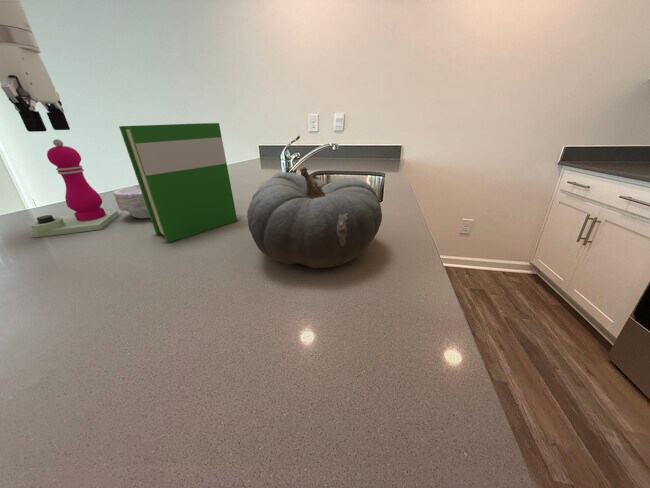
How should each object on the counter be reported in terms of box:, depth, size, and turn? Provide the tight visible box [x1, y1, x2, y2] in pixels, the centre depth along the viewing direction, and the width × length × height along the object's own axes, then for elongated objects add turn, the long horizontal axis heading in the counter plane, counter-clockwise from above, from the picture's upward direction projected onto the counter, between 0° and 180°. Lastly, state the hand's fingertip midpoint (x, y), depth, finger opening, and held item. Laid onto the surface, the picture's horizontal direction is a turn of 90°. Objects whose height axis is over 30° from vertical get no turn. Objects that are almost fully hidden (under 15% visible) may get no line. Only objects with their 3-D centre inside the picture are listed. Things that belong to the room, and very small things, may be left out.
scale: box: [30, 209, 120, 238], centre depth 69 cm, size 14×12×3 cm
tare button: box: [36, 214, 55, 224], centre depth 64 cm, size 3×3×2 cm
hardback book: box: [118, 122, 238, 244], centre depth 61 cm, size 18×7×24 cm, turn 139°
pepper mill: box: [46, 138, 106, 221], centre depth 67 cm, size 7×7×20 cm
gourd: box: [246, 166, 383, 269], centre depth 50 cm, size 25×25×17 cm
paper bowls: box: [113, 184, 151, 219], centre depth 75 cm, size 15×15×8 cm
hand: (50, 130), depth 61 cm, fingers open, 9 cm apart
